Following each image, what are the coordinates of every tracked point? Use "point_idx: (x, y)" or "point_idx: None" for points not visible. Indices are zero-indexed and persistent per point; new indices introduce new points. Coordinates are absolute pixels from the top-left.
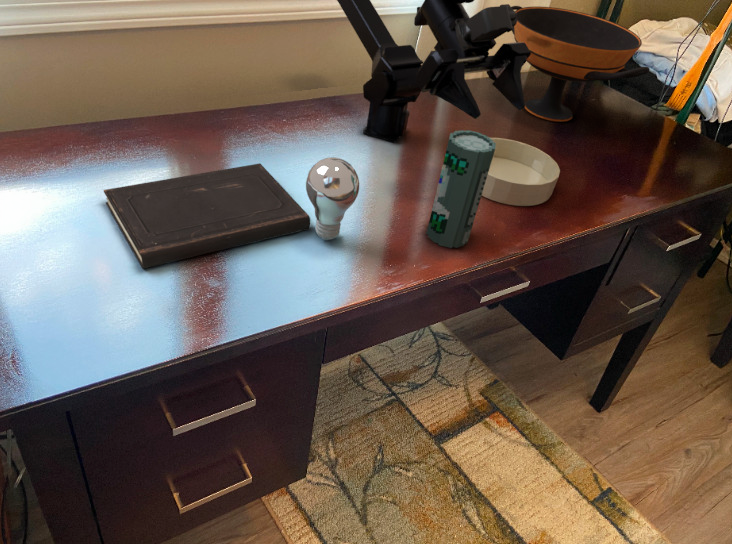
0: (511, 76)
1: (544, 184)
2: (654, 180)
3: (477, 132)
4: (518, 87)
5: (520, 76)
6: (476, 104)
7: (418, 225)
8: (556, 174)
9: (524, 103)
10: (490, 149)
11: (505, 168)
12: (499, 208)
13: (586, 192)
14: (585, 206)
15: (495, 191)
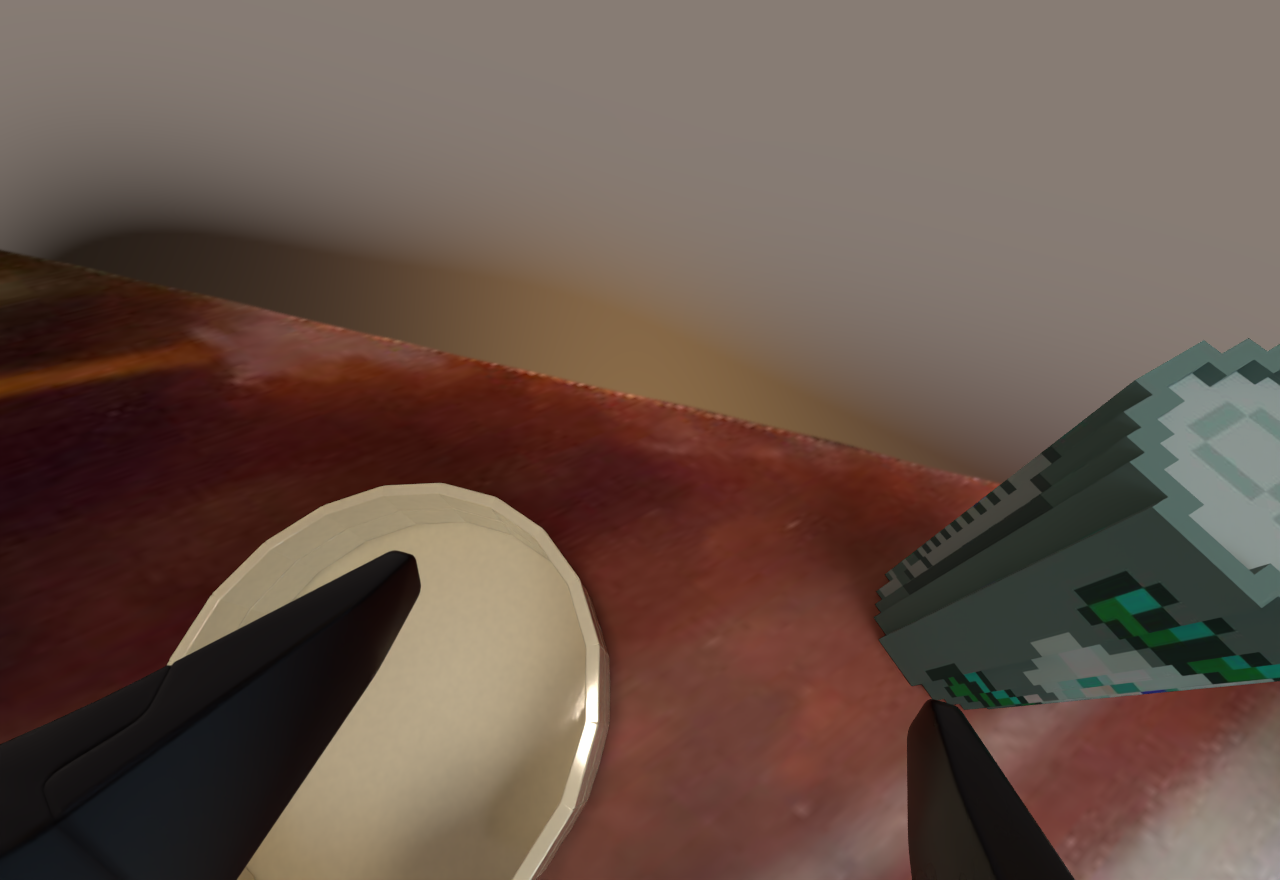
0: (70, 850)
1: (481, 493)
2: (71, 363)
3: (1179, 532)
4: (250, 664)
5: (11, 744)
6: (973, 789)
7: (1015, 744)
8: (372, 497)
9: (381, 558)
10: (1242, 353)
11: (329, 751)
12: (634, 599)
13: (296, 459)
14: (393, 425)
15: (602, 641)
